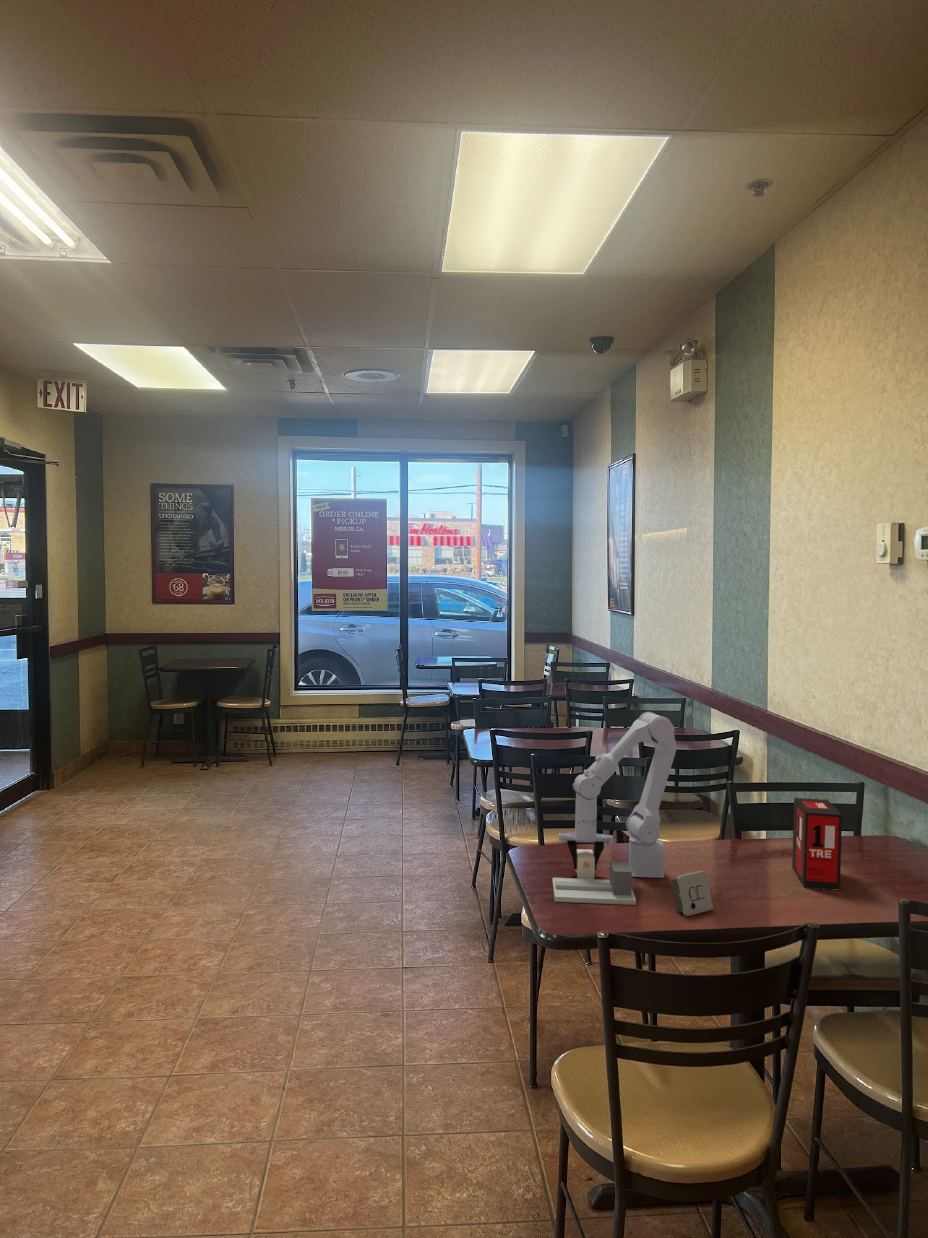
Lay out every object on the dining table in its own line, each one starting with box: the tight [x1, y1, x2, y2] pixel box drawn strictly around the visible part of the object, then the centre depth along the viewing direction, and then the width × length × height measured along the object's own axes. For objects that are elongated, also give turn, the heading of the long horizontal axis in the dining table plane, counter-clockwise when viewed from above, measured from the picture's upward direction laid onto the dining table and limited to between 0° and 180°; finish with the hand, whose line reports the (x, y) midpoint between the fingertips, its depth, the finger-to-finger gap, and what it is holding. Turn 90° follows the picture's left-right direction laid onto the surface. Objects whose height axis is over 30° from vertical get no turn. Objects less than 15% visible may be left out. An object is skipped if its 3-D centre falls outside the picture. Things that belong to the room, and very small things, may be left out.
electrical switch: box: [671, 870, 714, 917], centre depth 201 cm, size 9×5×9 cm, turn 121°
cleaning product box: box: [791, 797, 843, 890], centre depth 225 cm, size 16×9×20 cm, turn 168°
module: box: [574, 848, 596, 879], centre depth 224 cm, size 4×9×6 cm, turn 176°
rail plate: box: [551, 860, 637, 906], centre depth 211 cm, size 20×14×7 cm
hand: (584, 868), depth 224 cm, fingers closed on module, 4 cm apart
